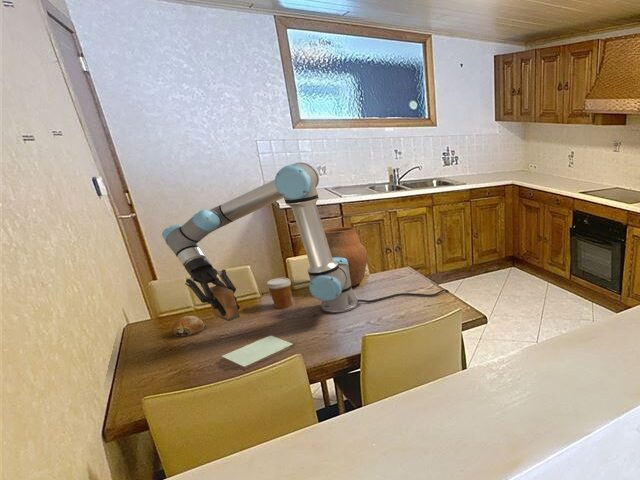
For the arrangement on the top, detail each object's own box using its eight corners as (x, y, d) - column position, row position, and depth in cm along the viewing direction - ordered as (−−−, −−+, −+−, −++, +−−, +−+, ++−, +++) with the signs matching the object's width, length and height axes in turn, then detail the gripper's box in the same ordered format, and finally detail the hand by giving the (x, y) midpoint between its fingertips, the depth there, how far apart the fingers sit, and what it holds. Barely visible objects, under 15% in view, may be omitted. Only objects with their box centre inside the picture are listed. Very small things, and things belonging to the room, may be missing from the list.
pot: (365, 274, 236) (358, 220, 225) (376, 288, 217) (368, 230, 206) (317, 281, 223) (307, 226, 213) (324, 297, 205) (314, 236, 194)
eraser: (225, 311, 165) (217, 285, 161) (240, 317, 161) (232, 290, 157) (213, 315, 162) (206, 288, 158) (228, 321, 157) (221, 293, 153)
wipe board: (271, 337, 167) (270, 335, 166) (294, 346, 161) (293, 343, 160) (221, 359, 152) (221, 356, 152) (245, 369, 146) (244, 366, 145)
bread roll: (208, 337, 174) (212, 318, 174) (181, 338, 164) (185, 317, 164) (191, 333, 177) (195, 314, 177) (164, 334, 167) (168, 313, 167)
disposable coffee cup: (284, 310, 190) (279, 285, 186) (266, 308, 192) (260, 283, 188) (299, 302, 199) (295, 278, 195) (282, 300, 201) (277, 276, 196)
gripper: (217, 261, 169) (251, 308, 167) (166, 274, 154) (203, 325, 153) (222, 250, 164) (257, 298, 163) (170, 263, 150) (208, 315, 149)
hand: (231, 311), depth 158 cm, fingers closed on eraser, 4 cm apart
